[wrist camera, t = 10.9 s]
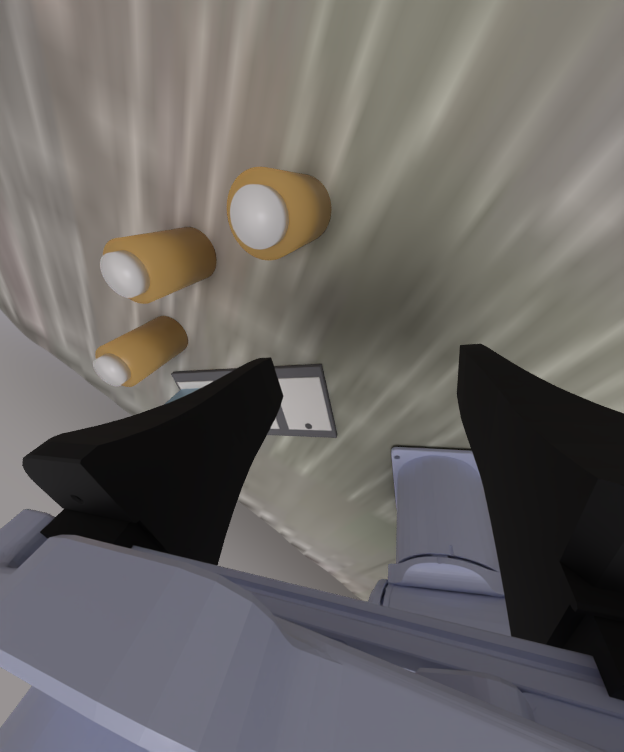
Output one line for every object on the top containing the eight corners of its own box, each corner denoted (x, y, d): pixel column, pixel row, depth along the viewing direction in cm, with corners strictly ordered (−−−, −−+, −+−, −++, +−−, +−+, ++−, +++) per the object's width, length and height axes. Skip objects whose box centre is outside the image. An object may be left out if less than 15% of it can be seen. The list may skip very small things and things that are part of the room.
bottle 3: (335, 235, 17) (304, 255, 12) (284, 246, 19) (234, 269, 13) (325, 166, 16) (283, 152, 10) (269, 183, 17) (204, 179, 11)
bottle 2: (194, 350, 26) (138, 392, 20) (165, 352, 27) (105, 393, 22) (176, 313, 24) (110, 349, 19) (146, 318, 25) (76, 352, 20)
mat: (337, 434, 27) (336, 438, 26) (204, 429, 32) (202, 433, 32) (321, 364, 23) (319, 367, 22) (173, 371, 28) (170, 374, 28)
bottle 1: (223, 274, 21) (159, 303, 15) (186, 282, 22) (115, 311, 17) (204, 221, 19) (124, 233, 14) (165, 232, 20) (77, 247, 15)
